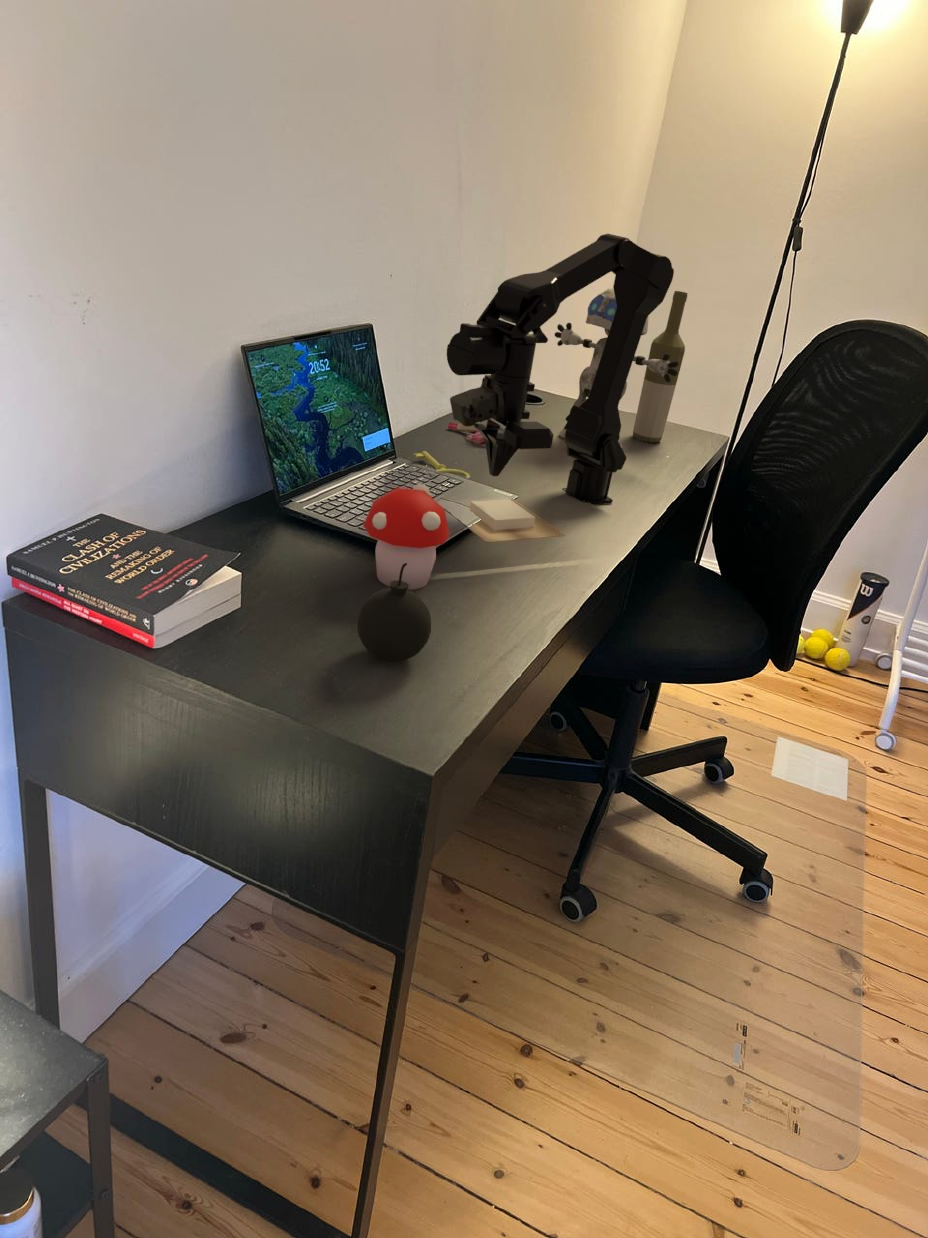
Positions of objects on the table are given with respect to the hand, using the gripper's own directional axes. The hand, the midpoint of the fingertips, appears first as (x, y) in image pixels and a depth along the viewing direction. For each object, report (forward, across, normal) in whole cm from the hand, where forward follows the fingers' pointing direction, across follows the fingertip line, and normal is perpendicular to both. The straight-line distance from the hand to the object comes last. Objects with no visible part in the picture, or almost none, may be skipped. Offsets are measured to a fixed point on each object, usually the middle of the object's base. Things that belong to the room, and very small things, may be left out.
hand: (493, 475), depth 144 cm
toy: (+7, -35, +19) cm, 40 cm away
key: (+7, -18, +1) cm, 20 cm away
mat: (+6, +3, 0) cm, 7 cm away
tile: (+5, 0, 0) cm, 5 cm away
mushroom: (+6, +18, -24) cm, 31 cm away
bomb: (+6, +36, -34) cm, 50 cm away
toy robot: (+6, -31, +43) cm, 54 cm away
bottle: (+6, -33, +59) cm, 68 cm away
